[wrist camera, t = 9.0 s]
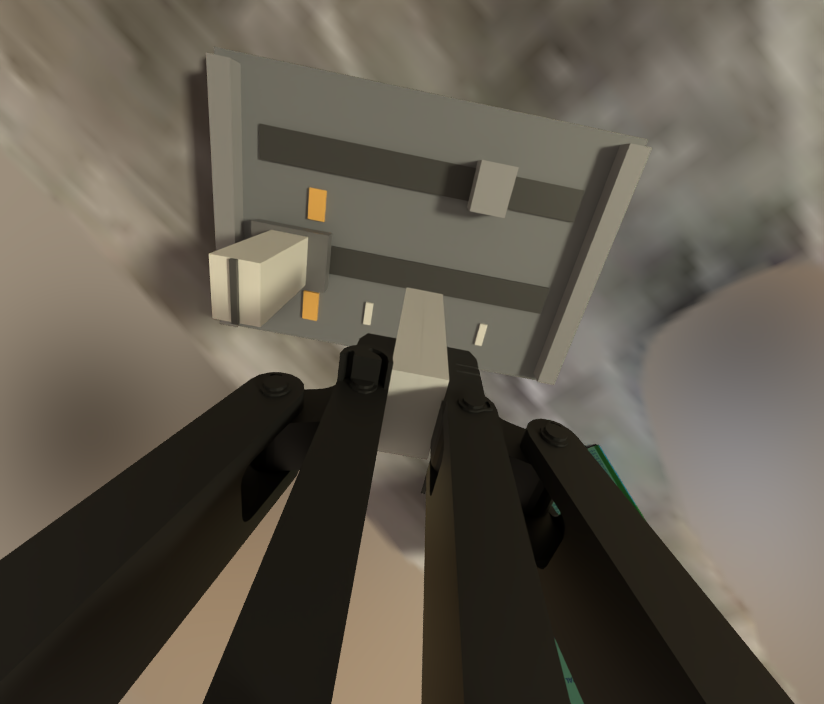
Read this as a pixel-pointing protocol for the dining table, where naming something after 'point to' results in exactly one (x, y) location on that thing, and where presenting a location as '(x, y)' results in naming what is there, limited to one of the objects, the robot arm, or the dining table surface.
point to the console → (420, 205)
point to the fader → (267, 271)
